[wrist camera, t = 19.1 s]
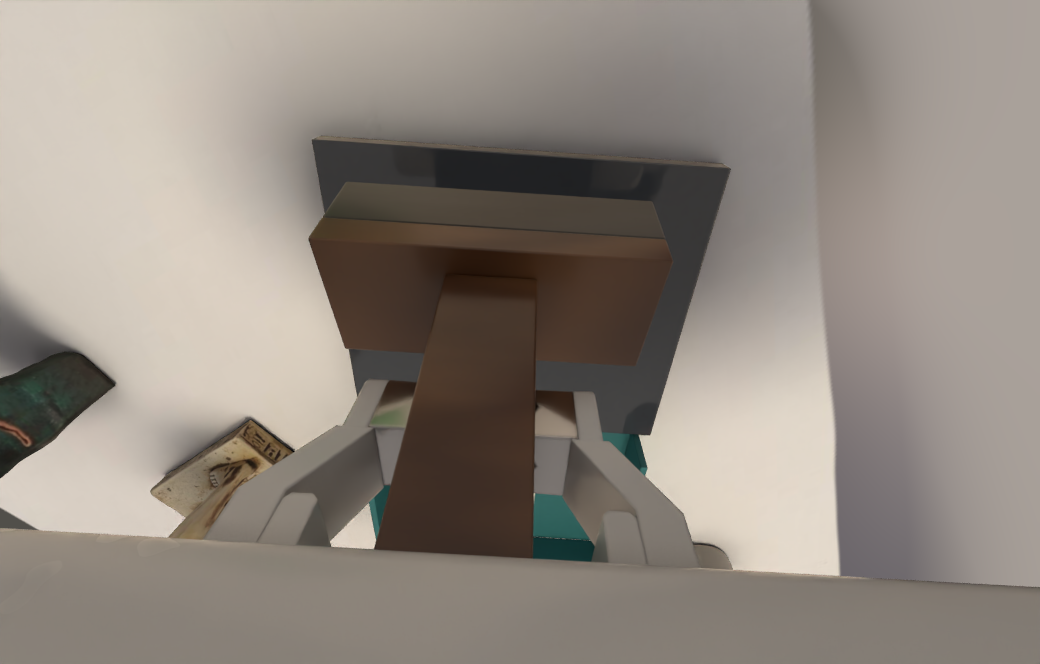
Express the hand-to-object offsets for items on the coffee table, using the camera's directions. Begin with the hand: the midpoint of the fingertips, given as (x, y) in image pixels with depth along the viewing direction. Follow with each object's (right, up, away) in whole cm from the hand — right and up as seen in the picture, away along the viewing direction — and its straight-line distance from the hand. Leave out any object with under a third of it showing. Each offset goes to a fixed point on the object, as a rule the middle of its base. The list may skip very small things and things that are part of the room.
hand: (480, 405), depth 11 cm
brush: (0, +5, +4) cm, 6 cm away
